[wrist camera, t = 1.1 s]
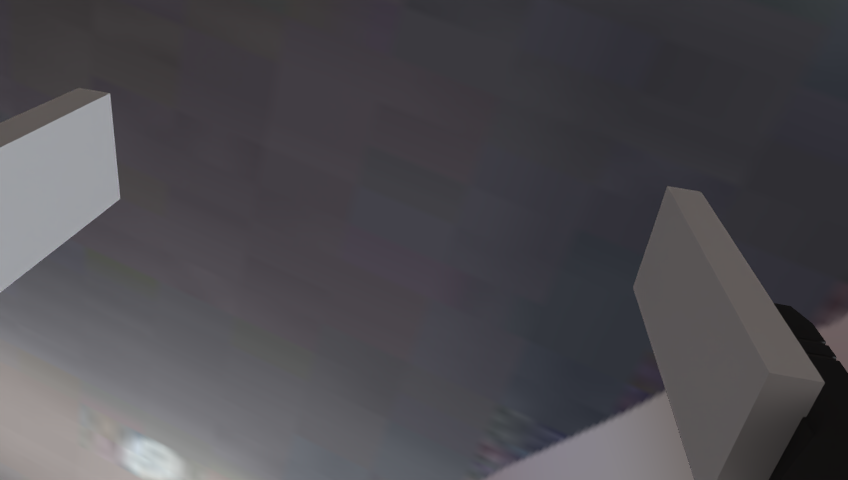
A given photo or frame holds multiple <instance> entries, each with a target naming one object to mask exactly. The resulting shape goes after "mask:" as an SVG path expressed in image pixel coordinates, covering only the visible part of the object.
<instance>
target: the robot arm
mask: <svg viewBox="0 0 848 480" xmlns="http://www.w3.org/2000/svg"><path fill="white" fill-rule="evenodd" d="M119 199H120V191H119V181H118V171H117V160H116V150H115V140H114V130H113V119H112V109H111V99H110V93H106V92H100V91H94V90H88V89H82V88H77V89H75V90H73V91H71V92H68V93H66V94H64V95H62V96H60V97H57V98H55V99H53V100H51V101H48V102H46V103H44V104H42V105H39V106H37V107H35V108H33V109H30V110H28V111H26V112H24V113H21V114H19V115H17V116H15V117H13V118H10V119H8V120H6V121H4V122H1V123H0V292H1V291H3V290H4V289H5V288H7V287H8V286H9V285H10V284H12V283H13V282H14V281H15V280H17V279H18V278H19V277H21V276H22V275H23V274H24V273H26V272H27V271H28V270H30V269H31V268H32V267H33V266H35V265H36V264H37V263H39V262H40V261H41V260H42V259H44V258H45V257H46V256H48V255H49V254H50V253H51V252H53V251H54V250H55V249H57V248H58V247H59V246H60V245H62V244H63V243H64V242H65V241H67V240H68V239H69V238H71V237H72V236H73V235H74V234H76V233H77V232H78V231H80V230H81V229H82V228H83V227H85V226H86V225H87V224H89V223H90V222H91V221H92V220H94V219H95V218H96V217H98V216H99V215H100V214H101V213H103V212H104V211H105V210H106V209H108V208H109V207H110V206H112V205H113V204H114V203H115V202H117V201H118V200H119ZM633 289H634V292H635V295H636V298H637V301H638V305H639V308H640V311H641V314H642V317H643V320H644V323H645V327H646V330H647V333H648V336H649V339H650V342H651V345H652V349H653V352H654V355H655V358H656V361H657V364H658V367H659V371H660V374H661V377H662V380H663V383H664V386H665V389H666V393H667V396H668V399H669V402H670V405H671V408H672V411H673V415H674V418H675V421H676V424H677V427H678V430H679V433H680V437H681V439H682V443H683V446H684V449H685V452H686V455H687V458H688V462H689V465H690V468H691V471H692V474H693V477H694V480H848V373H847V372H846V370H845V368H844V367H843V366H842V364H841V363H840V361H836V356H835V354H834V353H833V352H832V350H831V349H830V347H829V346H827V345H825V343H826V342H825V340H824V339H823V338H822V336H821V335H820V333H819V332H818V330H817V329H816V328H815V326H814V325H813V324H812V323H811V322H810V321H809V320H807V319H806V318H805V317H803V316H802V315H801V314H800V313H798V312H797V311H796V310H795V309H793V308H792V307H791V306H787V305H781V304H775V303H773V302H772V300H771V299H770V297H769V296H768V294H767V293H766V291H765V289H764V288H763V286H762V285H761V283H760V282H759V280H758V279H757V277H756V276H755V274H754V273H753V271H752V269H751V268H750V266H749V265H748V263H747V262H746V260H745V259H744V257H743V256H742V254H741V253H740V251H739V249H738V248H737V246H736V245H735V243H734V242H733V240H732V239H731V237H730V236H729V234H728V233H727V231H726V229H725V228H724V226H723V225H722V223H721V222H720V220H719V219H718V217H717V216H716V214H715V213H714V211H713V209H712V208H711V206H710V205H709V203H708V202H707V200H706V199H705V197H704V196H703V194H702V193H701V192H699V191H693V190H687V189H681V188H675V187H669V186H667V189H666V192H665V195H664V198H663V201H662V204H661V207H660V210H659V213H658V216H657V219H656V221H655V224H654V227H653V230H652V233H651V236H650V239H649V242H648V245H647V248H646V251H645V254H644V257H643V260H642V263H641V266H640V269H639V272H638V275H637V278H636V281H635V284H634V286H633Z"/></svg>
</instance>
